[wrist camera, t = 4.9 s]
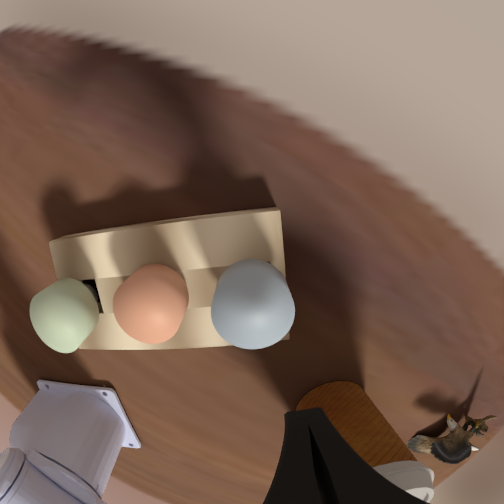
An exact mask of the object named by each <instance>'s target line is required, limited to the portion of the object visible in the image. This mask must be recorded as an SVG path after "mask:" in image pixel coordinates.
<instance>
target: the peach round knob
mask: <svg viewBox="0 0 504 504" xmlns="http://www.w3.org/2000/svg"><path fill="white" fill-rule="evenodd" d="M188 304H189V292H188V288H187V286H186V284H185V282H184V280H183V279H182V277H181V276H180V275H179V274H178V273H177V272H176V271H174V270H173V269H171V268H169V267H167V266H165V265H161V264H148V265H144V266H142V267H140V268H139V269H137V270H136V271H135V272H134V273H133V274H132V275H131V276H130V277H129V278H127V279H126V280H125V281H124V282H123V283H122V284H121V285H120V286H119V287H118V288H117V290H116V292H115V294H114V297H113V312H114V316H115V319H116V321H117V323H118V324H119V326H120V327H121V328H122V330H123V331H124V332H125V333H127V334H128V335H129V336H130V337H132V338H134V339H135V340H137V341H140V342H143V343H148V344H158V343H162V342H165V341H167V340H169V339H170V338H172V337H173V336H174V335H175V333H176V332H177V331H178V328H179V326H180V324H181V321H182V319H183V317H184V314H185V312H186V310H187V307H188Z"/></svg>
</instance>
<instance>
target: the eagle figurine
mask: <svg viewBox="0 0 504 504" xmlns="http://www.w3.org/2000/svg"><path fill="white" fill-rule="evenodd" d="M495 418H496V416H493V415H489V416H487V417H485V418H483V419H473V418H470V417H469V416H466V417H465V419H466V422H465V424H464V426H463V427H461V426H460V425H459V424H458V423H456V422H455V421H454V420H453V419H452V418H451V416H450V413H449V414H448V415H447V425H448V426H449V428H450V433H449V434H448V435H447V436H445V437H442V438H433V437H432V438H431V437H427V436H423V435H417V436H416V437H413V438H412V440H410V441H408V444H407V446H409V447H408V448H409V449H411V450H413V451H414V452H419V453H431V454H433V455H434V457H435V458H437V459H438V460H439V461H442V462H443V463H447V464H448V463H449V464H458V463H459V462H461V461H463V460H464V459H466V458H467V457H469V456H470V454H471V450H479V448H477V447H475V446H473V445H471V443H470V442H469V439H470V438H471V436H472V435H473V434H474V433H475V432H476V436H484V434H481V432H480V430H481V431H483V432H485V433H486V432H487V430H488V426H487V425H486V424H485V422H486V421H488V420H491V419H495ZM468 425H471V426H472V428H471V429H470V430H469V431H466V430H467V428H468Z"/></svg>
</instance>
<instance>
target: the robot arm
mask: <svg viewBox="0 0 504 504" xmlns="http://www.w3.org/2000/svg"><path fill="white" fill-rule="evenodd" d="M37 385H38V387H39V389H40V390H39V391H38V392H37V394H36V395H35V396H34V397H33V399H32V400H31V401H30V402H29V404H28V405H27V406H26V407H25V409H24V410H23V411H22V413H21V414H20V415H19V416H18V418H17V419H16V420H15V422H14V423H13V425H12V428H11V431H10V447H11V448H6V449H5V450H4V451H3V452H1V453H0V504H106V503H105V502H103V501H102V500H101V499H102V496H103V493H104V491H105V488H106V485H107V482H108V480H109V477H110V475H111V472H112V469H113V467H114V464H115V462H116V459H117V456H118V454H119V451H120V449H121V446H123V447H130V448H140V447H141V443H140V441H139V439H138V437H137V435H136V433H135V431H134V429H133V428H132V426H131V424H130V422H129V420H128V418H127V415H126V413H125V411H124V409H123V407H122V405H121V403H120V401H119V398H118V396H117V394H116V392H115V390H113V389H112V388H107V387H95V386H85V385H76V384H67V383H60V382H53V381H46V380H38V381H37ZM105 392H106V393H105ZM284 417H285V433H284V441H283V446H282V451H281V456H280V459H279V463H278V466H277V469H276V473H275V476H274V479H273V481H272V484H271V487H270V489H269V491H268V494H267V496H266V498H265V500H264V502H263V504H430V503H427V502H425V501H423V500H421V499H419V498H417V497H415V496H413V495H411V494H410V493H408V492H406V491H405V490H403V489H401V488H400V487H398V486H396V485H395V484H393V483H392V482H390V481H389V480H388V479H386V478H385V477H383V476H382V475H381V474H380V473H378V472H377V471H376V470H375V469H373V468H372V467H371V466H370V465H369V464H368V463H367V462H366V461H365V460H364V459H362V458H361V457H360V456H359V455H358V454H357V453H356V452H355V450H354V449H353V448H352V447H351V446H350V445H349V444H348V443H347V442H346V440H345V439H344V438H343V437H342V436H341V435H340V433H339V432H338V431H337V429H336V428H335V427H334V425H333V424H332V423H331V421H330V420H329V418H328V417H327V415H326V414H325V412H324V410H323V409H322V408H321V407H317V408H311V409H305V410H298V411H291V412H287V413H285V414H284Z"/></svg>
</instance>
